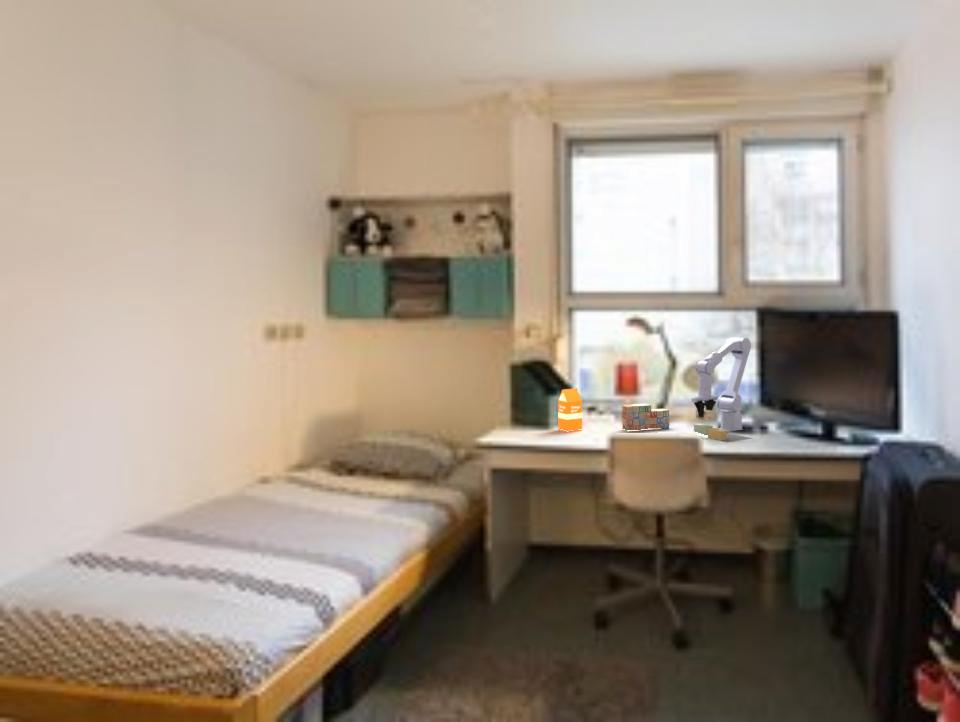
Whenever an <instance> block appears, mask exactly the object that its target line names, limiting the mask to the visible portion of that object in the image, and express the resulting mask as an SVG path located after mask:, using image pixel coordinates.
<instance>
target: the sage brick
mask: <svg viewBox="0 0 960 722" xmlns="http://www.w3.org/2000/svg"><path fill="white" fill-rule="evenodd" d="M710 428H714V426H713V425H710V424H706V423H695V424H693V432H694V431H695V432H698V433H701V434H704V435H708V429H710Z"/></svg>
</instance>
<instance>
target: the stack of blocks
mask: <svg viewBox="0 0 960 722" xmlns="http://www.w3.org/2000/svg"><path fill="white" fill-rule="evenodd" d="M621 407H622V409H621V411H622V412H621V415H622V416H621V418H622V430H623V429H625V430H641V429H648V428H667V429H670V410H668V409H667V408H666V409H665V408H652V404H649V403H634V404H633V403H632V404H622V406H621Z"/></svg>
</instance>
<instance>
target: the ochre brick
mask: <svg viewBox="0 0 960 722" xmlns="http://www.w3.org/2000/svg"><path fill="white" fill-rule="evenodd" d="M727 433H728V431H727V430H723V429H717V427H713V428H710V429H708V438H707V439H709V438H712V439H711V440H713V439H717V440H716V441H718V440H726V439H727Z"/></svg>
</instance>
